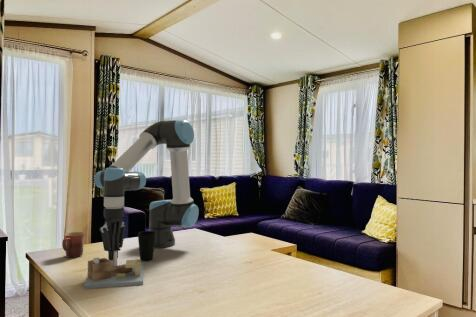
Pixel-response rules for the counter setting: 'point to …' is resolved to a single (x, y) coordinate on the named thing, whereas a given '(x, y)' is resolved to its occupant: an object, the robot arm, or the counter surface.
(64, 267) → the counter surface
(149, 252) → the cup
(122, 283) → the board
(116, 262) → the robot arm
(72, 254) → the mug
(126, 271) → the link
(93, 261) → the cylinder
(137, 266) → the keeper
